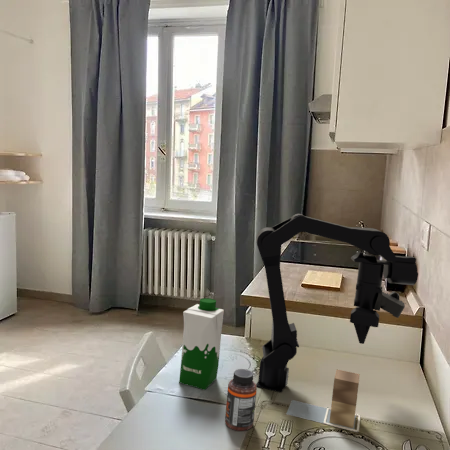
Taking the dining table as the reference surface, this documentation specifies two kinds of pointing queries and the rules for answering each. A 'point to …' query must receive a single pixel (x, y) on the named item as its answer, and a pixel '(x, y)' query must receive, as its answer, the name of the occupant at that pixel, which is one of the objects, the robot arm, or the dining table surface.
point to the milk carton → (201, 344)
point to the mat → (310, 412)
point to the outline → (341, 426)
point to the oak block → (342, 414)
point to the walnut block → (345, 387)
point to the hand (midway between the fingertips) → (361, 343)
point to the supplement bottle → (241, 401)
